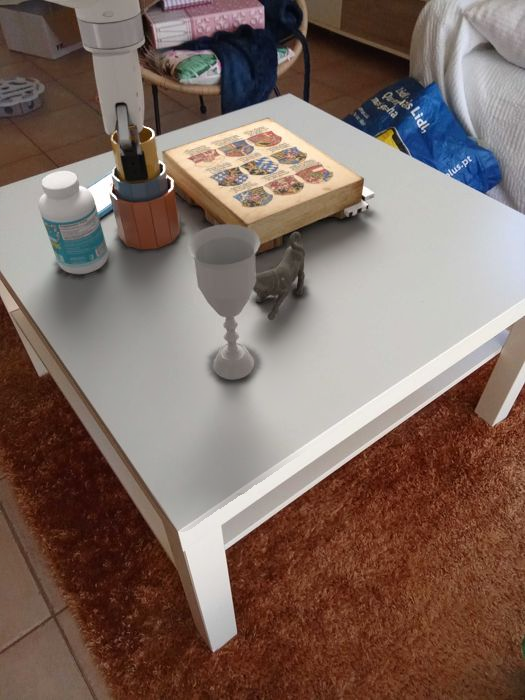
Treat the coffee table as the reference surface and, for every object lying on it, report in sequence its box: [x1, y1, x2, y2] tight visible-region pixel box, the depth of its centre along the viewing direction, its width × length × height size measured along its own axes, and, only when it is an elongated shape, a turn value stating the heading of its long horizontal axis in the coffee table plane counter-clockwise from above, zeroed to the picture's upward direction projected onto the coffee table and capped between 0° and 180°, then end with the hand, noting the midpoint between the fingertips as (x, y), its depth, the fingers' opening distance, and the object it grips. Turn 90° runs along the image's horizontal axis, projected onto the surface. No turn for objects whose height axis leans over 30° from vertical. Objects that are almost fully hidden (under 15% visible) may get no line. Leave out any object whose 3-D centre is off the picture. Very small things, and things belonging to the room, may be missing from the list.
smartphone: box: [85, 170, 113, 220], centre depth 96 cm, size 8×1×15 cm
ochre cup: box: [109, 125, 161, 183], centre depth 82 cm, size 6×6×12 cm
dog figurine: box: [253, 231, 306, 322], centre depth 75 cm, size 12×6×7 cm, turn 150°
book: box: [161, 117, 375, 255], centre depth 93 cm, size 25×6×28 cm
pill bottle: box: [38, 170, 109, 275], centre depth 79 cm, size 8×7×14 cm
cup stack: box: [109, 159, 181, 251], centre depth 86 cm, size 9×9×11 cm
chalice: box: [187, 224, 260, 381], centre depth 63 cm, size 7×7×18 cm
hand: (137, 166), depth 81 cm, fingers closed on ochre cup, 6 cm apart
